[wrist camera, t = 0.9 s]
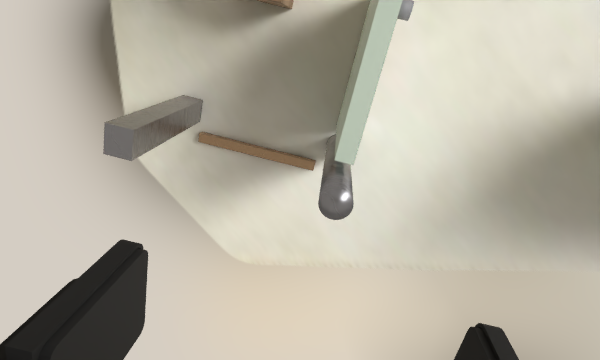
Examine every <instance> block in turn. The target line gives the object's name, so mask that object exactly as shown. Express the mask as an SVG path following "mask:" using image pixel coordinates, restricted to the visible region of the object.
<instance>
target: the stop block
mask: <svg viewBox="0 0 600 360" xmlns="http://www.w3.org/2000/svg"><path fill="white" fill-rule="evenodd" d="M257 1H261V2H265V3H269V4H273V5H277V6H281V7H285V8H289V9H292V5H293V0H257Z"/></svg>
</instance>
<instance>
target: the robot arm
mask: <svg viewBox="0 0 600 360" xmlns="http://www.w3.org/2000/svg"><path fill="white" fill-rule="evenodd" d="M147 266H148V252H147V251H146V250H143V246H142V244H139V243H135V242H131V241H127V240H120V241H119V242H117V243H116V244H115V245H114V246H113V247H112V248H111V249H110V250H109V251H108V252H106V253H105V254H104V255H103V256H102V257H101V258H100V259H99V260H98V261H97V262H96V263H94V264H93V265H92V266H91V267H90V268H89V269H88V270H87V271H86V272H85V273H83V274H82V275H81V276H80V277H79V278H77V279H74V280H72V281H71V282H69V283H68V284H67V285H66V286H65V287H64V288H62V289H61V290H60V291H59V292H58V293H57V294H56V295H55V296H53V297H52V298H51V299H50V300H49V301H48V302H47V303H46V304H45V305H43V306H42V307H41V308H40V309H39V310H38V311H37V312H36V313H35V314H33V315H32V316H31V317H30V318H29V319H28V320H27V321H26V322H25V323H23V324H22V325H21V326H20V327H19V328H18V329H17V330H16V331H15V332H13V333H12V334H11V335H10V336H9V337H8V338H7V339H6V340H5V341H3V342H2V343H1V344H0V360H123V359H124V358H125V356H126V355H127V353H128V352H129V350H130V349H131V347H132V346H133V344H134V343H135V342H136V340H137V339H138V337H139V335H140V334H141V332H142V330H143V326H144V322H145V304H146V285H147ZM454 360H519V359H518V357H517V355H516V354H515V352H514V350H513V348H512V346H511V344H510V342H509V340H508V338H507V337H506V335H505V333H504V331H503V330H502V329H501V328H499V327H494V326H490V325H486V324H482V323H478V324H477V325H476V326H475V327H470V328H469V329H468V331H467V333H466V335H465V338H464V340H463V342H462V344H461V346H460V348H459V350H458V352H457V354H456V356H455V359H454Z"/></svg>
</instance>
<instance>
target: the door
mask: <svg viewBox="0 0 600 360" xmlns="http://www.w3.org/2000/svg"><path fill="white" fill-rule="evenodd" d="M413 4H414V1H412V0H370V4H369V7H368V11H367V15H366V18H365V22H364V26H363V29H362V33H361V37H360V41H359V44H358V48H357V52H356V55H355V59H354V63H353V66H352V70H351V74H350V78H349V81H348V85H347V89H346V92H345V96H344V100H343V103H342V107H341V111H340V115H339V118H338V122H337V127H336V144H335V161H339V162H343V163H347V164H351V165H354V161H355V158H356V155H357V151H358V148H359V144H360V141H361V138H362V134H363V131H364V128H365V124H366V121H367V118H368V114H369V111H370V108H371V104H372V101H373V98H374V94H375V91H376V88H377V84H378V81H379V78H380V74H381V71H382V67H383V64H384V61H385V57H386V54H387V51H388V47H389V44H390V41H391V37H392V34H393V31H394V27H395V24H396V21H397V18H398V19H402V20H406V21H408V19H409V17H410V14H411V12H412V8H413Z"/></svg>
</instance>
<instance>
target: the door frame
mask: <svg viewBox="0 0 600 360" xmlns="http://www.w3.org/2000/svg"><path fill="white" fill-rule="evenodd" d="M202 102H203V100H201V99H197V98H193V97H189V96H185V95H182V96H179V97H177V98H174V99H171V100H168V101H165V102H162V103H159V104H157V105H154V106H151V107H148V108H145V109H142V110H139V111H137V112H134V113H131V114H128V115H125V116H122V117H120V118H117V119H114V120H111V121H108V122H105V128H104V129H105V130H104V154H106V155H110V156H114V157H118V158H122V159H126V160H130V161H132V160H134V159H136V158H138V157H139V156H141V155H143V154H145V153H146V152H148V151H150V150H151V149H153V148H155V147H157V146H158V145H160V144H162V143H164V142H165V141H167V140H169V139H171V138H172V137H174V136H176V135H177V134H179V133H181V132H183V131H184V130H186V129H188V128H190V127H191V126H193V125H195V124H197V123H198V122H200V117H201V109H202ZM198 142H202V143H206V144H210V145H214V146H218V147H222V148H226V149H230V150H234V151H237V152H241V153H245V154H249V155H253V156H257V157H261V158H265V159H269V160H273V161H277V162H281V163H285V164H289V165H293V166H297V167H301V168H305V169H309V170H313V169H314V165H315V160H312V159H308V158H304V157H300V156H296V155H292V154H288V153H284V152H280V151H276V150H272V149H268V148H264V147H260V146H256V145H252V144H248V143H244V142H240V141H236V140H232V139H228V138H224V137H221V136H217V135H213V134H209V133H205V132H201V133H199V141H198ZM335 144H336V135H333V136H331V137H330V138H329V140H328V142H327V147H326V154H325V161H324V168H323V175H322V182H321V189H320V196H319V209H320V211H321V213H322V214H323V215H324V216H325V217H327V218H329V219H333V220H339V219H343V218H345V217H347V216H348V215H349V214H350V213H351V211H352V209H353V192H352V177H351V164H347V163H343V162H339V161H335Z"/></svg>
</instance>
